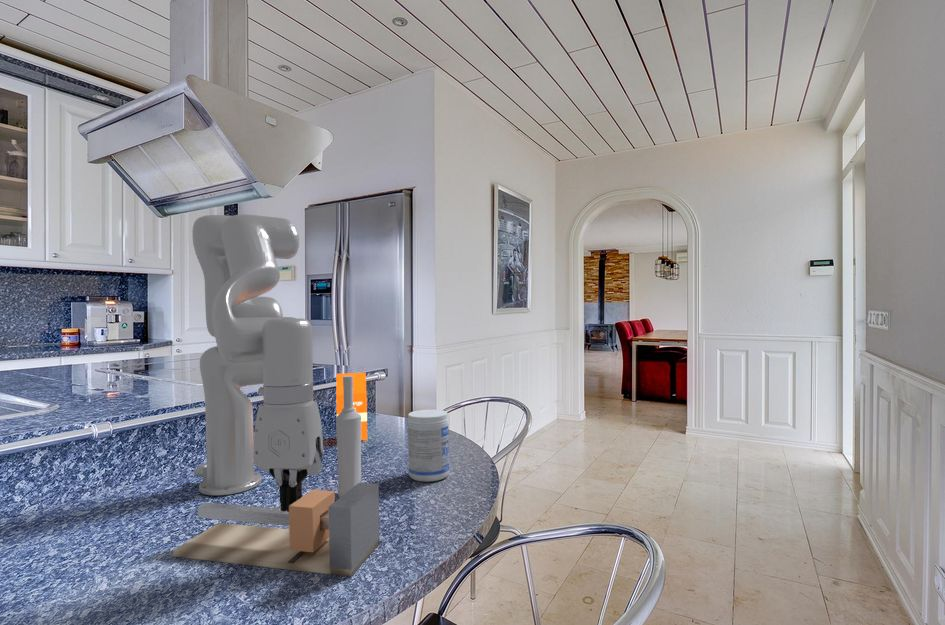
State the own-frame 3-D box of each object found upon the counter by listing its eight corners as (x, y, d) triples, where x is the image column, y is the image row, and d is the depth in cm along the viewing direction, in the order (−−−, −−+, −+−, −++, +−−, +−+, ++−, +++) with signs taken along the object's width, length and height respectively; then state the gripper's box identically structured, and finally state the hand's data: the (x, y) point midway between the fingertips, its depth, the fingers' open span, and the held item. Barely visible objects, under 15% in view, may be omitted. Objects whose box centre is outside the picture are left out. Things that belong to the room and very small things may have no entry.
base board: (173, 556, 77) (173, 548, 77) (219, 528, 87) (218, 521, 87) (351, 576, 70) (351, 568, 70) (379, 544, 80) (379, 536, 80)
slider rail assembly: (178, 556, 77) (177, 494, 77) (223, 528, 87) (222, 473, 87) (351, 576, 70) (350, 508, 70) (379, 544, 80) (378, 483, 80)
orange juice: (337, 436, 149) (336, 372, 149) (367, 434, 151) (365, 371, 151) (336, 443, 142) (335, 375, 141) (367, 441, 144) (366, 374, 143)
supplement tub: (452, 481, 109) (451, 416, 109) (410, 485, 107) (409, 418, 107) (445, 467, 119) (444, 407, 118) (406, 471, 116) (405, 410, 116)
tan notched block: (289, 549, 74) (288, 506, 74) (313, 530, 81) (312, 489, 81) (313, 552, 74) (312, 507, 73) (335, 532, 80) (334, 491, 80)
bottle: (356, 500, 99) (353, 378, 99) (332, 498, 100) (330, 378, 100) (366, 490, 104) (364, 374, 104) (344, 489, 105) (342, 374, 105)
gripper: (232, 398, 76) (234, 514, 76) (318, 400, 73) (320, 522, 73) (263, 390, 83) (265, 496, 83) (342, 391, 80) (344, 502, 80)
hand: (291, 508), depth 78 cm, fingers closed
